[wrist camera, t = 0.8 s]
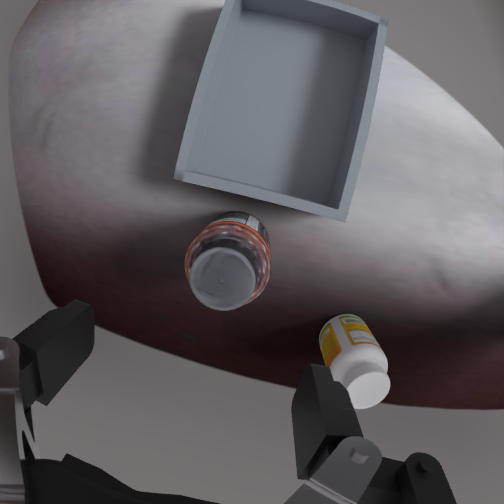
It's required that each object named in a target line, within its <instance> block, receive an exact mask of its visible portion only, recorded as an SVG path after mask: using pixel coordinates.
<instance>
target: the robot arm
mask: <svg viewBox="0 0 504 504" xmlns="http://www.w3.org/2000/svg"><path fill="white" fill-rule="evenodd" d="M94 319H95V310H94V307H93V306H92V305H90V304H87V303H84V302H81V301H79V300H73V301H72V302H71V303H69V304H68V305H67V306H65V307H64V308H62V307H60V308H57V309H54V310H51V311H49V312H47V313H46V314H45V315H43V316H42V317H41V318H39V319H38V320H37V321H35V323H33V324H31V325H30V326H29V327H27V328H26V329H25V330H23V331H22V332H21V333H19V334H18V335H17V336H15V337H14V338H13V339H10V338H7V337H0V504H219V503H214V502H209V501H204V500H199V499H194V498H190V497H186V496H182V495H173V494H159V493H149V492H140V491H136V490H134V489H132V488H130V487H129V486H127V485H125V484H123V483H122V482H120V481H119V480H117V479H116V478H114V477H112V476H111V475H109V474H108V473H106V472H105V471H103V470H102V469H100V468H98V467H96V466H93V465H91V464H89V463H86V462H84V461H82V460H80V459H78V458H76V457H73V456H71V455H69V454H66V455H65V457H64V458H63V460H62V461H57V460H51V459H41V458H40V454H39V450H38V445H37V438H36V432H35V423H34V415H33V408H32V404H33V403H34V401H35V400H36V401H38V402H40V403H42V404H44V405H45V406H47V405H48V404H49V403H50V401H51V400H52V399H53V398H54V397H55V395H56V394H57V393H58V392H59V391H60V389H61V388H62V387H63V386H64V384H65V383H66V382H67V381H68V380H69V379H70V378H71V376H72V375H73V374H74V373H75V372H76V371H77V369H78V368H79V367H80V366H81V365H82V364H83V362H84V361H85V360H86V359H87V358H88V357H89V355H90V354H91V352H92V349H93V346H94ZM291 408H292V409H291V411H292V422H293V433H294V444H295V454H296V466H297V477H298V479H303V480H304V479H305V480H306V481H305V482H304V483H303V484H302V485H301V486H300V487H299V488H298V489H297V490H296V492H295V493H294V494H293V495H292V496H291V497H290V498H289V499H288V500H287V501H286V502H285V503H284V504H457V503H456V501H455V498H454V496H453V493H452V490H451V488H450V486H449V483H448V481H447V478H446V476H445V474H444V471H443V469H442V466H441V465H440V463H439V462H438V461H437V460H436V459H435V458H434V457H432V456H431V455H429V454H426V453H419V452H418V453H413V454H411V455H410V456H409V457H408V458H407V459H406V461H405V462H402V461H397V460H393V459H389V458H385V457H382V453H381V451H380V449H379V448H378V447H377V445H375V444H374V443H373V442H372V441H370V440H368V439H366V438H364V437H363V434H362V431H361V428H360V425H359V422H358V419H357V416H356V413H355V411H354V407H353V404H352V403H351V398H350V396H349V393H348V391H347V389H346V388H345V387H344V386H343V385H342V384H341V383H340V382H339V381H334V380H333V376H332V373H331V370H330V368H329V367H328V366H322V365H316V364H310V363H309V364H308V365H307V366H306V368H305V371H304V373H303V375H302V378H301V380H300V383H299V385H298V387H297V390H296V392H295V394H294V397H293V401H292V407H291Z"/></svg>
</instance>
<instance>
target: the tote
mask: <svg viewBox="0 0 504 504" xmlns="http://www.w3.org/2000/svg"><path fill="white" fill-rule="evenodd" d="M387 25H388V20H386V19H384V18H381V17H379V16H376V15H374V14H371V13H368V12H366V11H363V10H360V9H357V8H354V7H351V6H348V5H345V4H342V3H339V2H335V1H332V0H225V3H224V6H223V8H222V11H221V14H220V17H219V19H218V22H217V25H216V28H215V31H214V34H213V36H212V39H211V42H210V45H209V48H208V51H207V54H206V58H205V61H204V64H203V67H202V70H201V74H200V77H199V80H198V84H197V87H196V90H195V94H194V97H193V101H192V104H191V108H190V112H189V115H188V119H187V123H186V127H185V131H184V135H183V139H182V143H181V147H180V151H179V155H178V159H177V164H176V168H175V173H174V177H173V179H174V180H178V181H183V182H187V183H192V184H196V185H201V186H205V187H210V188H214V189H218V190H223V191H227V192H231V193H235V194H239V195H243V196H248V197H252V198H256V199H260V200H264V201H268V202H271V203H275V204H279V205H283V206H287V207H291V208H294V209H298V210H302V211H306V212H309V213H313V214H317V215H320V216H324V217H327V218H331V219H334V220H338V221H341V222H345V221H346V217H347V214H348V210H349V207H350V203H351V199H352V196H353V192H354V188H355V184H356V180H357V177H358V173H359V169H360V165H361V161H362V157H363V152H364V148H365V144H366V140H367V135H368V131H369V126H370V122H371V117H372V112H373V107H374V102H375V97H376V92H377V87H378V82H379V76H380V71H381V65H382V59H383V53H384V46H385V39H386V32H387Z"/></svg>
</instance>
